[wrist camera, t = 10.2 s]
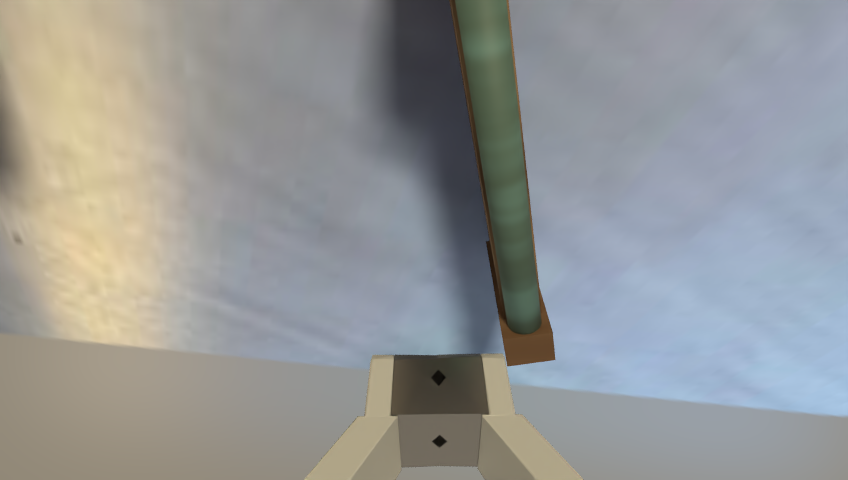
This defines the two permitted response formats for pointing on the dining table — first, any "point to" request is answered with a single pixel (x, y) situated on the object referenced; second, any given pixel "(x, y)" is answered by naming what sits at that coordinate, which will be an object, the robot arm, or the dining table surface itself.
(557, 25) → the dining table surface
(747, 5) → the dining table surface
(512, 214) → the brown wooden panel
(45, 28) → the dining table surface
